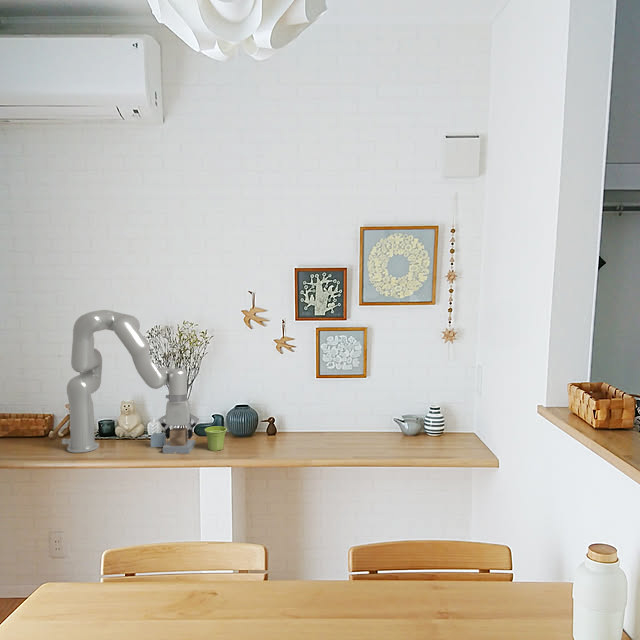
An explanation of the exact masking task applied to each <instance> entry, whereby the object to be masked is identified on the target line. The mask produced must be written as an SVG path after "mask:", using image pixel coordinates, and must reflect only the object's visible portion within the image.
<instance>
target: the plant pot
mask: <svg viewBox="0 0 640 640" xmlns="http://www.w3.org/2000/svg"><path fill="white" fill-rule="evenodd" d="M227 430H228V428H227V427H225V426H220V425H219V426H218V425H217V426H208V427H206V428H204V431H205V434H206V438H207V447H208V450H209V451H211V450H212V451H211V452H217V451H222V450H223V449H224V445H225V444H224V443H225V436H226V433H227Z"/></svg>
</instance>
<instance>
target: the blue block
mask: <svg viewBox="0 0 640 640" xmlns="http://www.w3.org/2000/svg"><path fill="white" fill-rule="evenodd" d="M166 440H167V436H165V432H153V434H152V435H150V448H151V447H163V446H164V445H166V443H167V441H166Z"/></svg>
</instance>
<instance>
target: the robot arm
mask: <svg viewBox="0 0 640 640" xmlns="http://www.w3.org/2000/svg"><path fill="white" fill-rule="evenodd" d="M140 323H141V322H140V320H139V319H138V318H137V317H135V315H134V316H133V315H130V314H126V313H122V312H118V311H113V310H108V309H101V310H94V311H90V312H86V313H85V314H82V315H80V316H79V317H78V318H77V319H76V320H75V322H74V324H73V327H72V328H73V329H72V345H71V359H70V364H71V369H72V370H73V371H74V372H76V373H79V374H78V375H76V376H74V377H72V378H71V379H69V381H68V383H67V385H66V395H67V401H68V409H69V432H70V433H69V434H70V437H69V438H62V439H61V444H62V445H67V446H66V451H67V452H69V453H75V454H76V453H77V454H78V453H80V454H81V453H87V452H91V451H95V450H97V449H99V443H98V442H95V439H96V436H95V411H94V402H93V398H92V394H94V393H96V391H98V389H100V387H101V385H102V384H101V383H102V374H103V370H102V369H103V358H102V357H103V356H102V354H101V351H99V350H98V349H97V348H95V337H94V333H96V332H101V331H104V330H105V331H106V330H107V331H111V332H114V334H115V335H116V336H117V338H118V339H119V340H120V342H121V343H122V344H123V346H124V347H125V349H126V350H127V352H128V353H129V355H130V357H131V359H132V361H133V365H134V367H135V369H136V371H137V373H138V375H139V376H140V377H141V379H142V381H143V382H144V384H146V385H147V387H149V388H150V389H153V390H154V389H155V390H158V389H160V388H162V387H163V386H166V385H168V394H166V395H165V399H167V402H166V406H165V415H162V416H160V417H159V418H158V423H159V424H160V425H161V427H163V429H164V431H165V432H164V433H165V436H166V440H168V439H169V440H170V431H171V428H170V427H171V426H173V427H174V426H177V427H178V426H182V427H183V426H186V428H187V429H188V440H191V438H192V437H193V434H194V432H193V429H194V428H195V427H196V425H197V424H198V423H199V420H200V419H199V418H198V417H197V416H196V415H195V416H194V415H193V414H192V410H191V404H190V400H189V399H188V375H187V374H188V373H187V372H188V371H187V370H186V369H185V368H179V367H177V368H170V367H156V366H155V364H154V362H153V360H152V359H151V356H150V344H149V342H148V340H147V339H146V338H145V337H144V335H143V334H142V332H141V331H140V328H141V325H140ZM164 420H165V422H164ZM192 420H193V421H194V422H193V423H192Z"/></svg>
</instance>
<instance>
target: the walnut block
mask: <svg viewBox="0 0 640 640" xmlns="http://www.w3.org/2000/svg"><path fill="white" fill-rule="evenodd" d="M188 430H189V428H188V427H173V428H172V429H170V438H169V440H170V446H185V444H186V443H187V442H188V440H189V439H188Z"/></svg>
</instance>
